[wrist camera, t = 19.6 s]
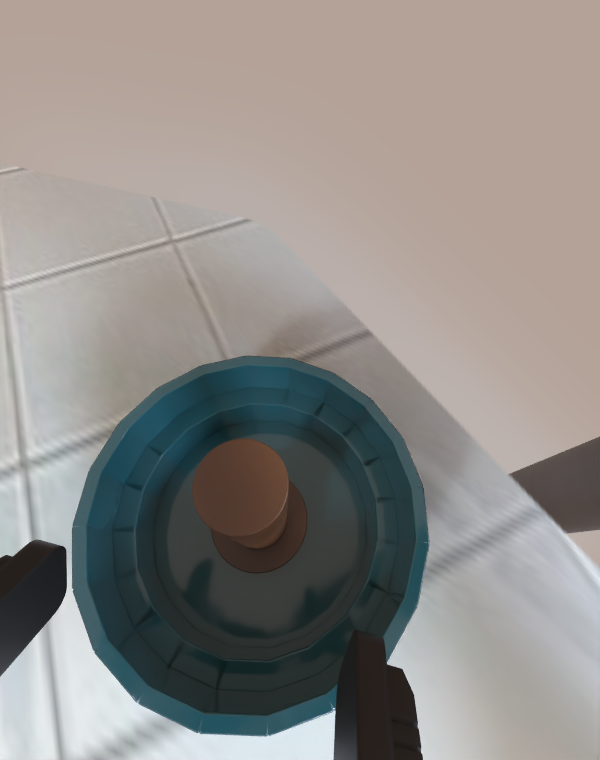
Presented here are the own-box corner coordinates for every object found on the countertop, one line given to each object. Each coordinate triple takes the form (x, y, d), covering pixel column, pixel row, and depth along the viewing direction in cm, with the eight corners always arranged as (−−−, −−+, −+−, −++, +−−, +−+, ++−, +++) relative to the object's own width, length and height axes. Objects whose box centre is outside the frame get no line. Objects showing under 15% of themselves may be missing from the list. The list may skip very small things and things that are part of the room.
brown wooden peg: (293, 465, 22) (298, 391, 13) (317, 556, 20) (346, 548, 11) (207, 488, 22) (147, 428, 12) (223, 585, 19) (165, 604, 10)
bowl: (343, 379, 26) (358, 330, 21) (435, 628, 19) (492, 651, 14) (119, 432, 24) (70, 393, 18) (138, 735, 17) (72, 811, 12)
